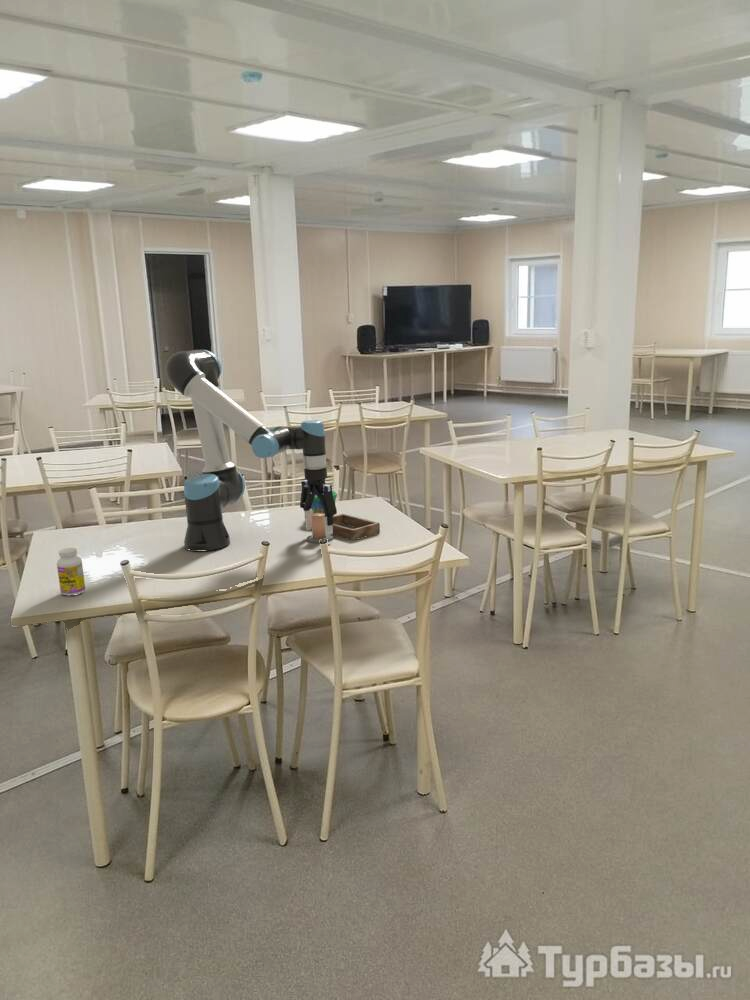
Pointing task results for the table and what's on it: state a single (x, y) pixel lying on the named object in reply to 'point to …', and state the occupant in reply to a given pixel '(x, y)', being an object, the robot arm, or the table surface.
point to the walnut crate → (362, 526)
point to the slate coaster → (310, 539)
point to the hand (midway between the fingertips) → (319, 531)
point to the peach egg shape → (318, 526)
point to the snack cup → (318, 506)
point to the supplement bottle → (70, 572)
